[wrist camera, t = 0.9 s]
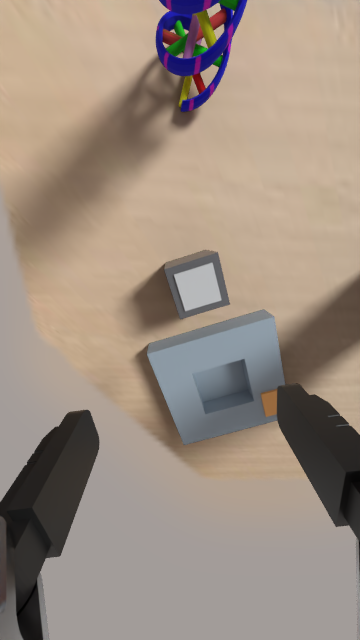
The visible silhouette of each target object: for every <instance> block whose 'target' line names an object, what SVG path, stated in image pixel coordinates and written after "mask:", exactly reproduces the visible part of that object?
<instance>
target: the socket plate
mask: <svg viewBox="0 0 360 640" xmlns="http://www.w3.org/2000/svg"><path fill="white" fill-rule="evenodd" d="M147 356H148V358H149V361H150V363H151V366H152V368H153V370H154V373H155V375H156V378H157V380H158V383H159V385H160V388H161V390H162V393H163V395H164V398H165V400H166V402H167V405H168V407H169V410H170V412H171V415H172V417H173V420H174V422H175V425H176V427H177V429H178V432H179V434H180V437H181V439H182V442H183V444H184V445H187V444H190V443H194V442H198V441H202V440H205V439H209V438H213V437H217V436H221V435H224V434H228V433H232V432H236V431H239V430H243V429H247V428H251V427H254V426H258V425H262V424H266V423H269V422H273V421H277V388H278V386H280V385H285V380H284V374H283V368H282V362H281V356H280V349H279V343H278V337H277V331H276V325H275V318H274V316H273V315H271V314H270V313H268V312H267V311H266V310H264V309H263V310H260V311H257V312H253V313H250V314H246V315H243V316H240V317H236V318H233V319H230V320H226V321H223V322H220V323H216V324H213V325H210V326H206V327H203V328H200V329H196V330H193V331H189V332H186V333H183V334H179V335H176V336H173V337H169V338H166V339H163V340H159V341H156V342H153V343H149V346H148V351H147Z"/></svg>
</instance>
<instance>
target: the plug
mask: <svg viewBox="0 0 360 640" xmlns="http://www.w3.org/2000/svg"><path fill="white" fill-rule="evenodd" d="M164 271H165V274H166V277H167V280H168V283H169V286H170V289H171V292H172V295H173V298H174V301H175V305H176V308H177V311H178V314H179V317H180V319H183V318H186V317H190V316H193V315H196V314H200V313H203V312H206V311H209V310H213V309H216V308H219V307H223V306H226V305H229V304H230V303H229V298H228V294H227V290H226V285H225V281H224V277H223V272H222V268H221V264H220V260H219V255H218V252H214V251H209V250H203V251H200V252H197V253H194V254H191V255H188V256H185V257H182V258H178V259H175V260H172V261H169V262H166V263H165V268H164Z"/></svg>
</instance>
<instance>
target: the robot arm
mask: <svg viewBox="0 0 360 640" xmlns="http://www.w3.org/2000/svg"><path fill="white" fill-rule="evenodd" d="M277 420H278V424H279V427H280V429H281V431H282V433H283V435H284V436H285V438H286V440H287V442H288V443H289V445H290V447H291V449H292V450H293V452H294V454H295V456H296V457H297V459H298V461H299V463H300V465H301V466H302V468H303V470H304V472H305V473H306V475H307V477H308V479H309V480H310V482H311V484H312V486H313V487H314V489H315V491H316V493H317V494H318V496H319V498H320V500H321V501H322V503H323V505H324V507H325V508H326V510H327V512H328V514H329V516H330V517H331V519H332V521H333V523H334V524H335V526H336V527H338V526H347V525H349V526H350V527H351V529H352V530H353V532H354V534H355V535H356V537H357V539H356V567H357V568H356V569H357V620H358V621H357V623H358V624H357V625H358V627H357V640H360V435H359V434H358V433H357V431H356V430H355V429H354V428H353V427H352V426H349V423H348V422H347V421H346V420H345V419H344V418H343V417H342V416H340V414H339V413H338V412H337V411H336V410H335V409H334V408H333V407H332V406H331V405H330V403H328V402H327V401H325V400H323V399H322V398H320V397H318V396H317V395H309V394H308V393H307V392H306V391H305V390H304V389H303V388H302V386H301V385H299V384H298V383H295V384H287V385H280V386H278V388H277ZM98 450H99V436H98V433H97V430H96V427H95V424H94V422H93V419H92V416H91V413H90V411H89V410H81V411H73V412H69V413H67V415H66V416H65V417H64V419H63V421H62V422H61V424H60V425H59V427H55V428H54V429H53V430H51V431H50V432H49V433H48V434H47V435H46V436H45V437H44V438H43V439H42V441H41V442H40V444H39V445H38V447H37V448H36V450H35V453H34V454H32V456H31V457H30V459H29V460H28V462H27V465H25V466H24V468H23V469H22V471H21V472H20V474H19V475H18V477H17V478H16V480H15V481H14V483H13V484H12V486H11V487H10V489H9V490H8V492H7V493H6V495H5V496H4V498H3V499H2V501H1V502H0V640H49V633H48V625H47V616H46V608H45V599H44V591H43V583H42V577H41V574H40V571H41V568H42V566H43V563H44V561H45V559H46V558H50V557H59V556H60V555H61V553H62V550H63V547H64V545H65V542H66V539H67V536H68V533H69V531H70V528H71V525H72V522H73V520H74V517H75V514H76V511H77V509H78V506H79V503H80V500H81V498H82V495H83V492H84V489H85V487H86V484H87V481H88V478H89V476H90V473H91V470H92V467H93V465H94V462H95V459H96V456H97V453H98Z"/></svg>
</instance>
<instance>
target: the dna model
mask: <svg viewBox="0 0 360 640" xmlns="http://www.w3.org/2000/svg"><path fill="white" fill-rule="evenodd" d="M159 1H160V2H161V3H162V4H163V5H164V6H165V7H166V8H167V9H169V10H170V11H169V12H167V13H166V14H165V15H164V16H163V17H162V18H161V19H160V21H159V23H158V26H157V31H156V48H157V52H158V56H159V59H160V61H161V63H162V64H163V66H164V67H165V68H166V69H167V70H168V71H170V72H171V73H173V74H175V75H179V76H185V80H184V84H183V88H182V92H181V97H180V101H179V107H180V108H181V112H186V111H191V110H194V109H196V108H198V107H199V106H201V105H202V104H203V103H205V102H206V101H207V100H208V99H209V97H210V96H211V95H212V94H213V92H214V91H215V89H216V88H217V86H218V84H219V82H220V80H221V78H222V76H223V74H224V71H225V68H226V66H227V62H228V58H229V54H230V48H231V41H232V37H233V35H234V33H235V31H236V29H237V27H238V24H239V22H240V20H241V17H242V15H243V12H244V9H245V6H246V3H247V0H159ZM217 3H219V4H220V7H221V10H220V11H219V12H218V13H216V14H215V15H213V16H212V17H210V18H209V16H208V13H207V10H206V9H208V8H210V7H212V6H213V5H215V4H217ZM233 10H234V11H235V12H234V15H233ZM222 24H224V32H223V34H222V35H221V36H220V38H219V39H218V40H216V37H215V34H214V31H213V30H215V29H216V28H218V27H219V26H221V25H222ZM172 29H174V30H175V32H176V34H174V33H172V32H170V31H171V30H172ZM184 29H186V30H188V31H189V33H188V34H186V35H185V32H184ZM203 37H204V38H205V41H206V44H207V46H208V49H207V48H205V47H203V46H201V45H200V44H201V40H202V38H203ZM162 42H164V43H166V44H168V45H171V46H169V47H168V48H166V49H165V47H164V45H163V43H162ZM182 52H183V53H184V55H183V58H178V57H176V56H177V55H179V54H180V53H182ZM222 53H223V55H221V54H222ZM212 64H213V65H215V66H218V67H219V69H218V72H217V74H216V76H215V77H214V79H213V81H212V82H211V83H210V85H209V86H208V87H207V88H205V85H204V83H203V80H202V77H201V75H200V72H202V71H204V70H205V69H207V68H208V67H210V66H211V65H212ZM192 77H193V79H194V82H195V84H196V87H197V89H198V92H199V95H198V96H196V97H194V98H192V99H188V100H187V98H188V94H189V89H190V85H191V81H192Z"/></svg>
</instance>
